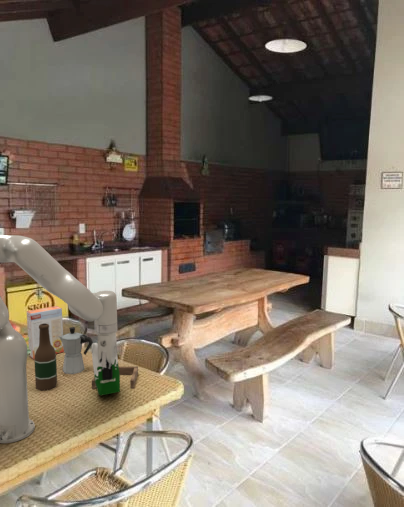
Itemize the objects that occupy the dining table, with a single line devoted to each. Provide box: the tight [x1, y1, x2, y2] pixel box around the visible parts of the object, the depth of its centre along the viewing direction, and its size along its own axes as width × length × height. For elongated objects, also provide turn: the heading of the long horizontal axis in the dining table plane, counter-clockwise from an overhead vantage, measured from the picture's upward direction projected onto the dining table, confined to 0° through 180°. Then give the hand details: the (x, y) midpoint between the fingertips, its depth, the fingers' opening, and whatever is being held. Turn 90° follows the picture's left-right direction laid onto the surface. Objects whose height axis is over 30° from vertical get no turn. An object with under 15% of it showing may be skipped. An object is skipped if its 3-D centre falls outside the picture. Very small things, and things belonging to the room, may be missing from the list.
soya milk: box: [91, 342, 121, 396], centre depth 153 cm, size 9×9×20 cm
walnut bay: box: [91, 365, 139, 389], centre depth 164 cm, size 13×15×3 cm
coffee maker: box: [58, 326, 94, 375], centre depth 173 cm, size 15×9×18 cm, turn 80°
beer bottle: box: [33, 323, 58, 392], centre depth 157 cm, size 8×8×24 cm
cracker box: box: [26, 305, 64, 360], centre depth 190 cm, size 14×6×21 cm, turn 130°
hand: (107, 378), depth 147 cm, fingers closed
